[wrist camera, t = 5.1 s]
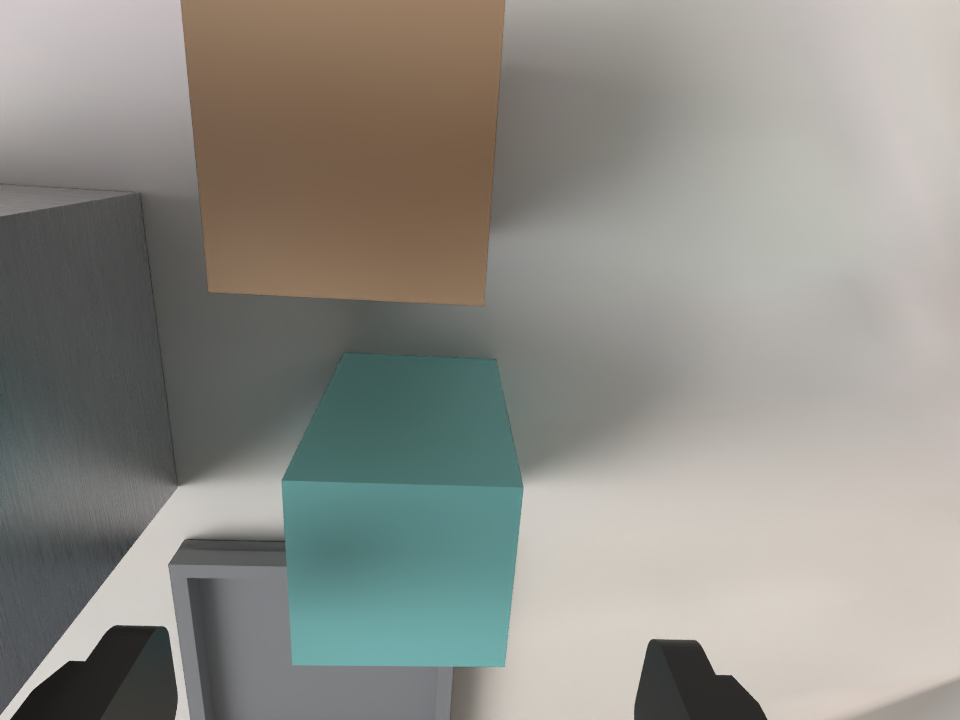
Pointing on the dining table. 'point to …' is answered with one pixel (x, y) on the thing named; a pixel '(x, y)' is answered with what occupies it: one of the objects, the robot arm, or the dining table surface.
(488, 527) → the teal block
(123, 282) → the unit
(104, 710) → the robot arm
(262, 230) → the walnut block
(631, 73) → the dining table surface
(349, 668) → the tray
